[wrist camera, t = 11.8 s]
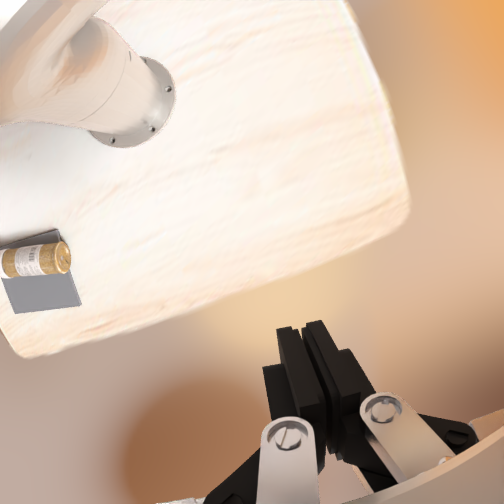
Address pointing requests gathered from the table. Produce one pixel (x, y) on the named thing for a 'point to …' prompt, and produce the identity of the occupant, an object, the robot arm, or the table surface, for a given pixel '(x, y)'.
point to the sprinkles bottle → (35, 260)
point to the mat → (40, 283)
